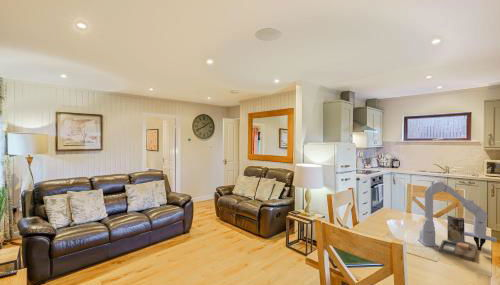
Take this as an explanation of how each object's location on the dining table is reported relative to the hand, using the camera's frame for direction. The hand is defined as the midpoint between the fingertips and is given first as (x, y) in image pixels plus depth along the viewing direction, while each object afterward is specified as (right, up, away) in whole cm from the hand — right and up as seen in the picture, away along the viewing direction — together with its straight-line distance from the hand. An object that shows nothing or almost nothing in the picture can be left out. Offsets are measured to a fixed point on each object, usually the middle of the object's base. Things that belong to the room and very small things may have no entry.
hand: (479, 249), depth 149 cm
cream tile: (-16, -2, +4) cm, 16 cm away
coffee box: (+3, -3, +20) cm, 20 cm away
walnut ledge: (-7, -3, +2) cm, 8 cm away
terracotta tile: (-5, -1, +5) cm, 8 cm away
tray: (-13, -3, +7) cm, 15 cm away
